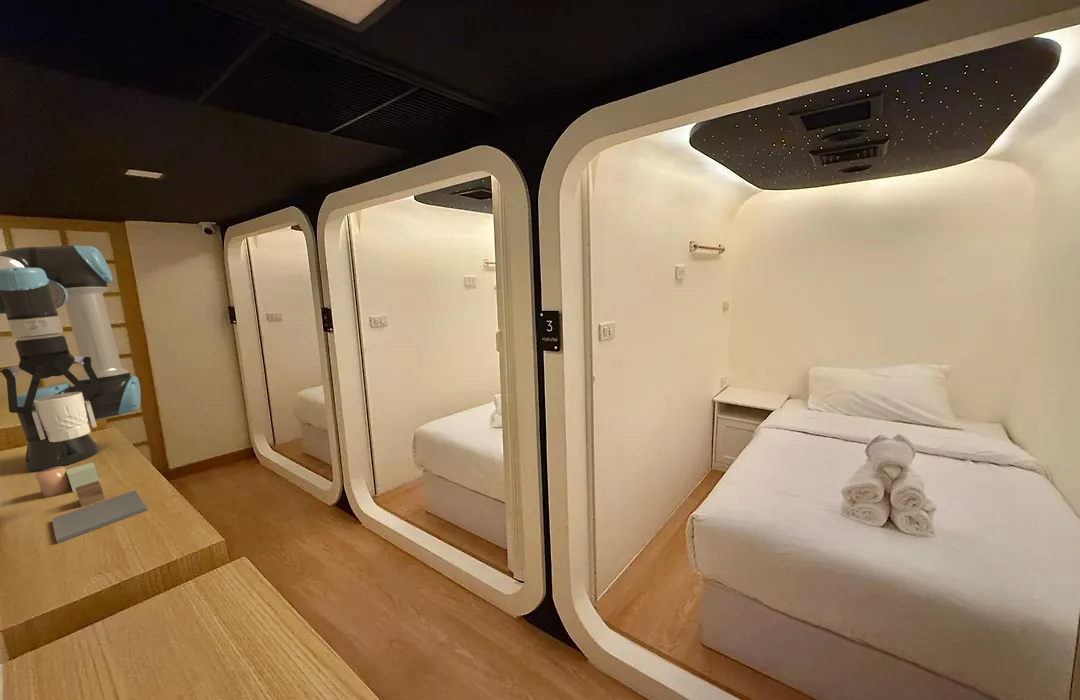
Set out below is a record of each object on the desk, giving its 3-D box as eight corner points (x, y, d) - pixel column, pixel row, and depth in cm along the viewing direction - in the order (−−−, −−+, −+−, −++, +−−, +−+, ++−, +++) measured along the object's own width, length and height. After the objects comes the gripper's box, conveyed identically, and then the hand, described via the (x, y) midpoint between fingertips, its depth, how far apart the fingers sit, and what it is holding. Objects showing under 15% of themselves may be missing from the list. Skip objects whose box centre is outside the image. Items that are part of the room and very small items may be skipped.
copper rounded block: (54, 488, 112) (47, 468, 111) (76, 485, 113) (70, 464, 112) (37, 498, 107) (29, 477, 106) (60, 494, 108) (53, 473, 107)
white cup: (47, 438, 100) (34, 398, 99) (94, 428, 106) (83, 389, 104) (44, 446, 95) (30, 403, 93) (94, 434, 101) (82, 394, 99)
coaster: (52, 521, 96) (51, 518, 96) (135, 493, 106) (135, 490, 106) (57, 543, 87) (56, 540, 87) (147, 510, 98) (146, 506, 98)
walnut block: (80, 502, 104) (75, 487, 103) (102, 494, 107) (98, 480, 106) (81, 507, 101) (76, 492, 101) (105, 499, 104) (100, 484, 104)
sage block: (71, 487, 112) (65, 470, 111) (97, 479, 116) (92, 462, 115) (73, 492, 109) (67, 474, 108) (100, 483, 113) (95, 466, 112)
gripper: (-37, 346, 86) (0, 451, 90) (105, 330, 101) (130, 420, 106) (-34, 345, 91) (1, 444, 95) (101, 329, 106) (125, 415, 110)
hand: (69, 431), depth 100 cm, fingers closed on white cup, 8 cm apart
